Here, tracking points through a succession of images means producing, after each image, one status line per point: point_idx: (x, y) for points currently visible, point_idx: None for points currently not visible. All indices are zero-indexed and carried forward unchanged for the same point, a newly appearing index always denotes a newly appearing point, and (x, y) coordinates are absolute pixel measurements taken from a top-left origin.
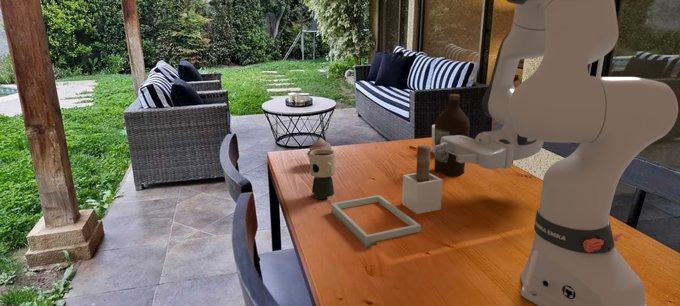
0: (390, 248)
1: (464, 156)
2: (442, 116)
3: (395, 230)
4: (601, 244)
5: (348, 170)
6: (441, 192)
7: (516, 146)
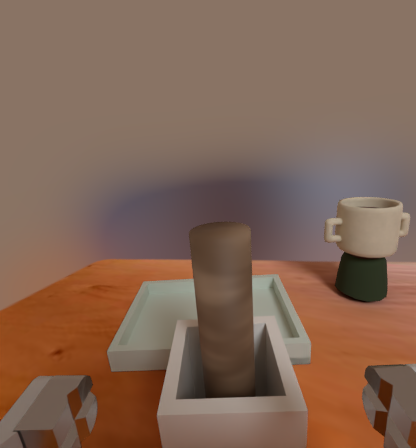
0: (119, 316)
1: (7, 419)
2: None
3: (129, 311)
4: None
5: None
6: None
7: None
